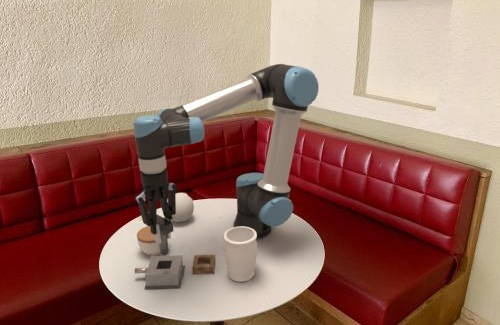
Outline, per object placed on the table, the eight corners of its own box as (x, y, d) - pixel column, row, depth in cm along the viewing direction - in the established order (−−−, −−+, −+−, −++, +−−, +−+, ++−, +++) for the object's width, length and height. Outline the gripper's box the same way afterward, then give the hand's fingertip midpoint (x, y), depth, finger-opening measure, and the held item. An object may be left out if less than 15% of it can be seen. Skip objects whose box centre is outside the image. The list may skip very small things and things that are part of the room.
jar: (246, 288, 117) (245, 247, 111) (219, 277, 122) (216, 237, 117) (263, 270, 125) (263, 231, 120) (237, 261, 130) (236, 222, 125)
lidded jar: (162, 261, 131) (159, 237, 128) (133, 257, 133) (130, 234, 130) (174, 244, 141) (171, 222, 138) (147, 241, 143) (144, 219, 140)
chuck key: (176, 256, 117) (172, 222, 113) (169, 260, 116) (164, 226, 111) (160, 245, 123) (155, 213, 119) (152, 249, 121) (148, 216, 117)
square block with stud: (185, 266, 128) (184, 254, 126) (180, 288, 117) (178, 275, 116) (140, 268, 127) (138, 255, 126) (131, 289, 117) (129, 276, 115)
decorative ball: (200, 219, 158) (199, 193, 154) (178, 230, 150) (175, 203, 146) (182, 210, 166) (180, 186, 162) (160, 221, 157) (157, 195, 153)
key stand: (215, 260, 131) (214, 254, 130) (213, 273, 124) (213, 267, 123) (195, 261, 130) (194, 255, 130) (192, 274, 124) (192, 267, 123)
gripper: (168, 159, 117) (176, 225, 125) (121, 174, 106) (133, 245, 115) (183, 164, 112) (190, 233, 120) (135, 181, 101) (147, 255, 110)
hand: (162, 239), depth 118 cm, fingers closed on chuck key, 3 cm apart
